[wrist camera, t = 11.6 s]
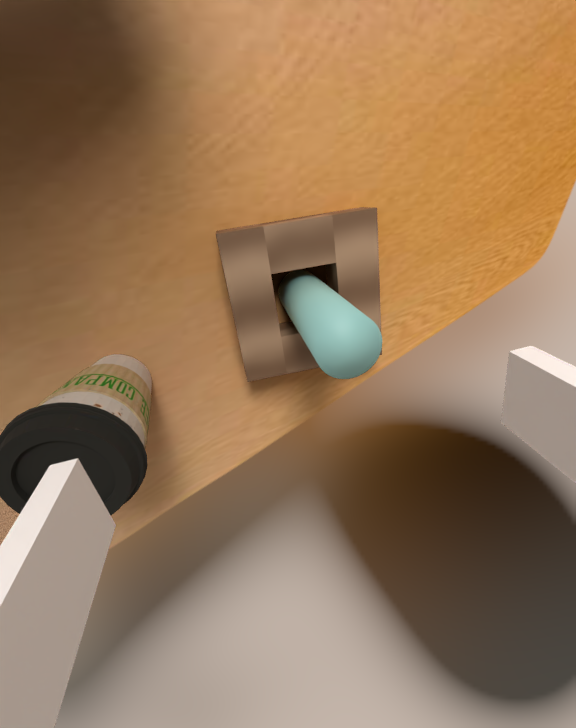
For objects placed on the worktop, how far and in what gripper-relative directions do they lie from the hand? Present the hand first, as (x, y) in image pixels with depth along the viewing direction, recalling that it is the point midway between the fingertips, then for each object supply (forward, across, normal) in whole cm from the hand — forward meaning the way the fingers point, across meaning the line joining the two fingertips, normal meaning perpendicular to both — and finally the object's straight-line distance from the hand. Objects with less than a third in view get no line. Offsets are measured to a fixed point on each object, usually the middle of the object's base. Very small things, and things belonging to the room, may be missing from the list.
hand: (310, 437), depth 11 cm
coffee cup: (+27, -15, -8) cm, 33 cm away
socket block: (+27, +5, -3) cm, 28 cm away
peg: (+27, +5, -3) cm, 28 cm away
